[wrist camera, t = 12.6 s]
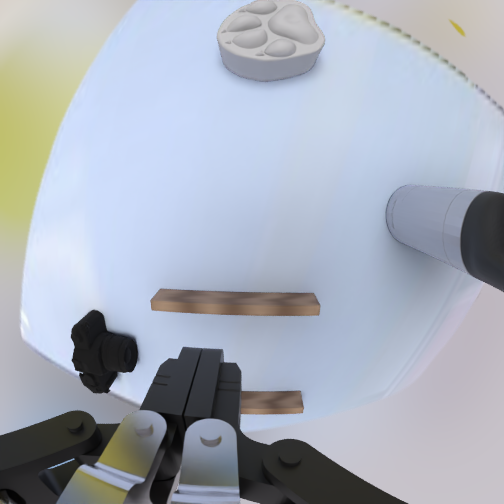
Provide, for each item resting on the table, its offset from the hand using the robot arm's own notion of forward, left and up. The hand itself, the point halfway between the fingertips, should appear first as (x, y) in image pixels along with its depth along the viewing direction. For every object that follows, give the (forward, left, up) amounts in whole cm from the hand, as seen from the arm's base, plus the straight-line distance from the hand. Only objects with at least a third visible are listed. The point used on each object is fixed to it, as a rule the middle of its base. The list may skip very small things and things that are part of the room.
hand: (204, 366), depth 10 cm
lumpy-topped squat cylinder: (-3, -27, -29) cm, 40 cm away
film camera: (+23, +20, -29) cm, 42 cm away
